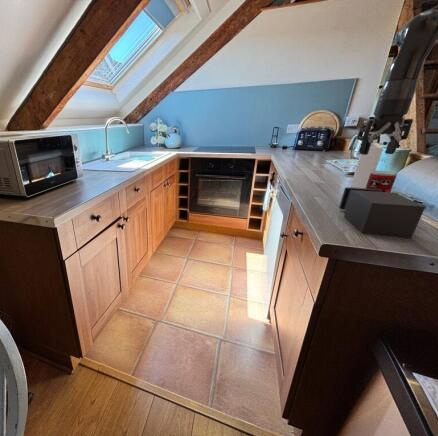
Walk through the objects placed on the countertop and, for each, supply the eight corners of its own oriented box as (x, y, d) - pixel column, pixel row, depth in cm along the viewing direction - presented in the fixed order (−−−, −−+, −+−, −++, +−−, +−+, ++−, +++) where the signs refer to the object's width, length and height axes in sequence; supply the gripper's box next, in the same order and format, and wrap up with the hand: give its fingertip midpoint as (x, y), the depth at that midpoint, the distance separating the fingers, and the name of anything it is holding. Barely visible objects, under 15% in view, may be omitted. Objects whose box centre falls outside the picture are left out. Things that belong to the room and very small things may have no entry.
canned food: (358, 197, 104) (366, 171, 100) (370, 194, 106) (378, 169, 102) (379, 202, 97) (389, 175, 93) (391, 199, 100) (401, 173, 95)
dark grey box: (343, 216, 84) (352, 190, 80) (385, 220, 80) (396, 192, 77) (361, 233, 72) (372, 202, 68) (411, 238, 68) (425, 206, 65)
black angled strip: (334, 204, 93) (340, 184, 90) (367, 206, 90) (374, 186, 87) (353, 220, 79) (360, 197, 76) (393, 224, 76) (402, 200, 73)
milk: (350, 187, 118) (364, 139, 110) (354, 185, 122) (369, 139, 113) (365, 189, 114) (382, 140, 105) (370, 187, 117) (386, 139, 109)
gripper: (384, 97, 68) (365, 156, 74) (432, 96, 69) (409, 155, 75) (361, 99, 75) (345, 153, 81) (405, 98, 75) (386, 152, 82)
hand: (376, 154), depth 78 cm, fingers open, 8 cm apart
